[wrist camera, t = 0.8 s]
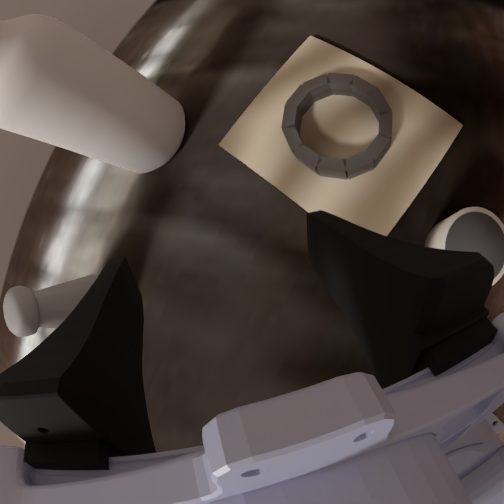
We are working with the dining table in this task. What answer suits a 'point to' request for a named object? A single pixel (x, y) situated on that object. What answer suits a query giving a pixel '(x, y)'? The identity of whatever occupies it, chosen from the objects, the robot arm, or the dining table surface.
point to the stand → (342, 137)
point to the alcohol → (83, 97)
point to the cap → (471, 236)
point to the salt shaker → (43, 305)
